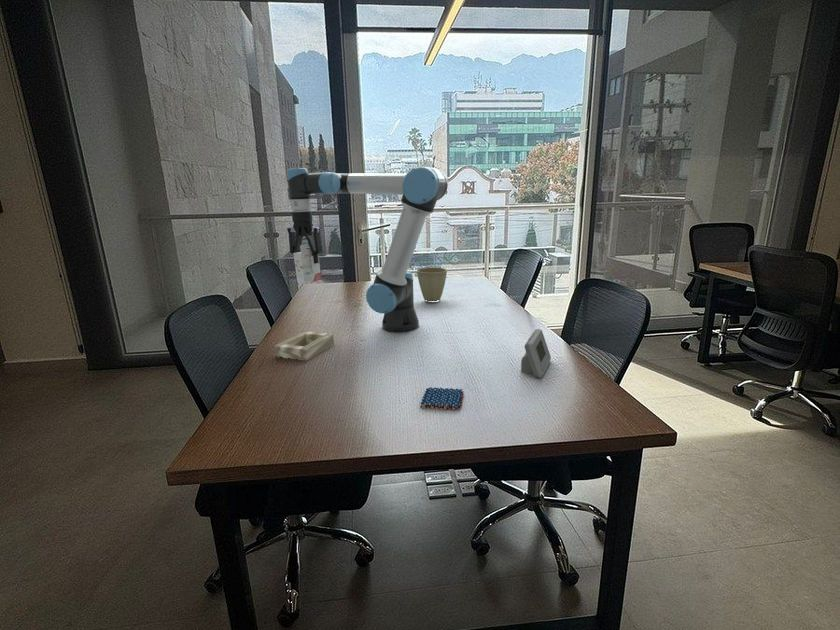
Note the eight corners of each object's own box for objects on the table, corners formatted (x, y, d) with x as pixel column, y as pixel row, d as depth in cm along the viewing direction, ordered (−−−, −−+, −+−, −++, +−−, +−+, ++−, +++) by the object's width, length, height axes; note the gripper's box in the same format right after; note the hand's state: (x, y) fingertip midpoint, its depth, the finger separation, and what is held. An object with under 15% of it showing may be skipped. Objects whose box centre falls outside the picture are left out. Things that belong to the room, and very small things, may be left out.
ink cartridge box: (313, 278, 176) (309, 242, 172) (321, 279, 173) (318, 242, 169) (296, 282, 169) (292, 244, 165) (304, 283, 166) (300, 245, 162)
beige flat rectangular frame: (334, 344, 161) (333, 334, 160) (307, 360, 146) (305, 349, 145) (304, 341, 165) (303, 331, 164) (275, 356, 150) (274, 346, 149)
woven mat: (461, 413, 109) (461, 405, 109) (419, 410, 111) (419, 403, 111) (464, 394, 119) (464, 387, 119) (426, 392, 121) (426, 385, 121)
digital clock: (540, 381, 125) (541, 346, 122) (511, 374, 130) (512, 340, 127) (560, 362, 137) (562, 330, 134) (533, 357, 142) (534, 326, 139)
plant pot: (437, 306, 208) (437, 273, 204) (412, 302, 216) (410, 271, 211) (452, 299, 220) (452, 268, 215) (428, 296, 228) (427, 266, 223)
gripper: (274, 212, 164) (282, 272, 170) (317, 211, 157) (323, 274, 163) (287, 211, 170) (294, 269, 177) (328, 210, 164) (334, 270, 170)
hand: (308, 271), depth 170 cm, fingers closed on ink cartridge box, 6 cm apart
